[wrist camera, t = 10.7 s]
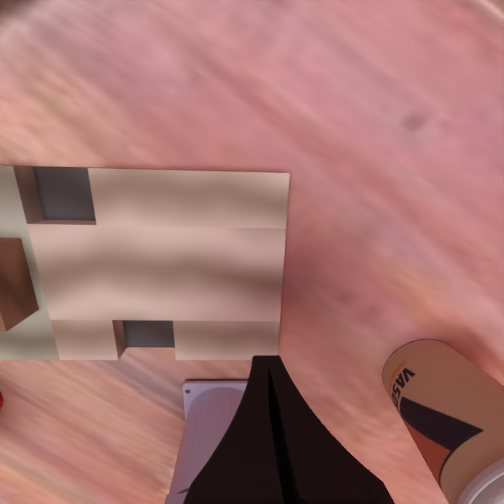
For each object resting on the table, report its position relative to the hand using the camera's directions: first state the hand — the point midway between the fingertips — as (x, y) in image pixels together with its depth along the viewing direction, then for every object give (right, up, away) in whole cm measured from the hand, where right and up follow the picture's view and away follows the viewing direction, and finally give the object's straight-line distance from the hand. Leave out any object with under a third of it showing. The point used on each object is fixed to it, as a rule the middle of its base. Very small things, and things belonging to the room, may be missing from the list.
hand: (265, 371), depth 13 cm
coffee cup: (+16, -6, +14) cm, 22 cm away
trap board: (-11, +5, +9) cm, 15 cm away
